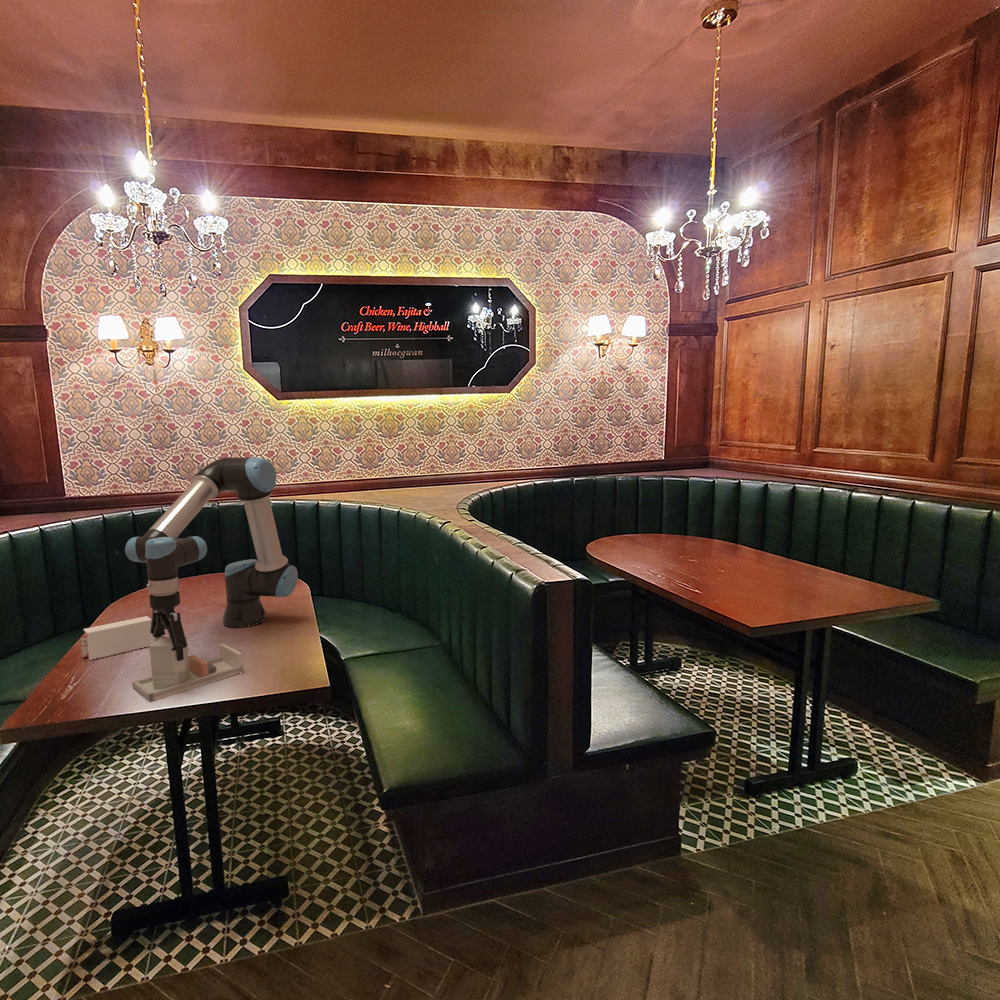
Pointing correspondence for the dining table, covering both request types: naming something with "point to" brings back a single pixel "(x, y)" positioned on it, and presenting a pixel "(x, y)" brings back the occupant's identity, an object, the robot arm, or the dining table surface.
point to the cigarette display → (117, 638)
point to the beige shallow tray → (224, 665)
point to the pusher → (200, 666)
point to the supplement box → (167, 664)
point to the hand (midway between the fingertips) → (170, 664)
